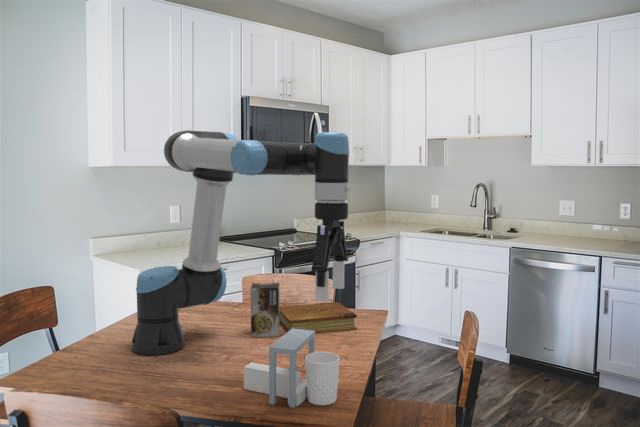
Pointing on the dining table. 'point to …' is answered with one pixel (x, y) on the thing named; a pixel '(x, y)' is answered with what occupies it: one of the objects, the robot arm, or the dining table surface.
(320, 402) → the white cup
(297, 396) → the white l-shaped block
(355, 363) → the dining table surface
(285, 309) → the diary
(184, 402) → the dining table surface
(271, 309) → the food box
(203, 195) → the robot arm
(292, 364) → the bridge
